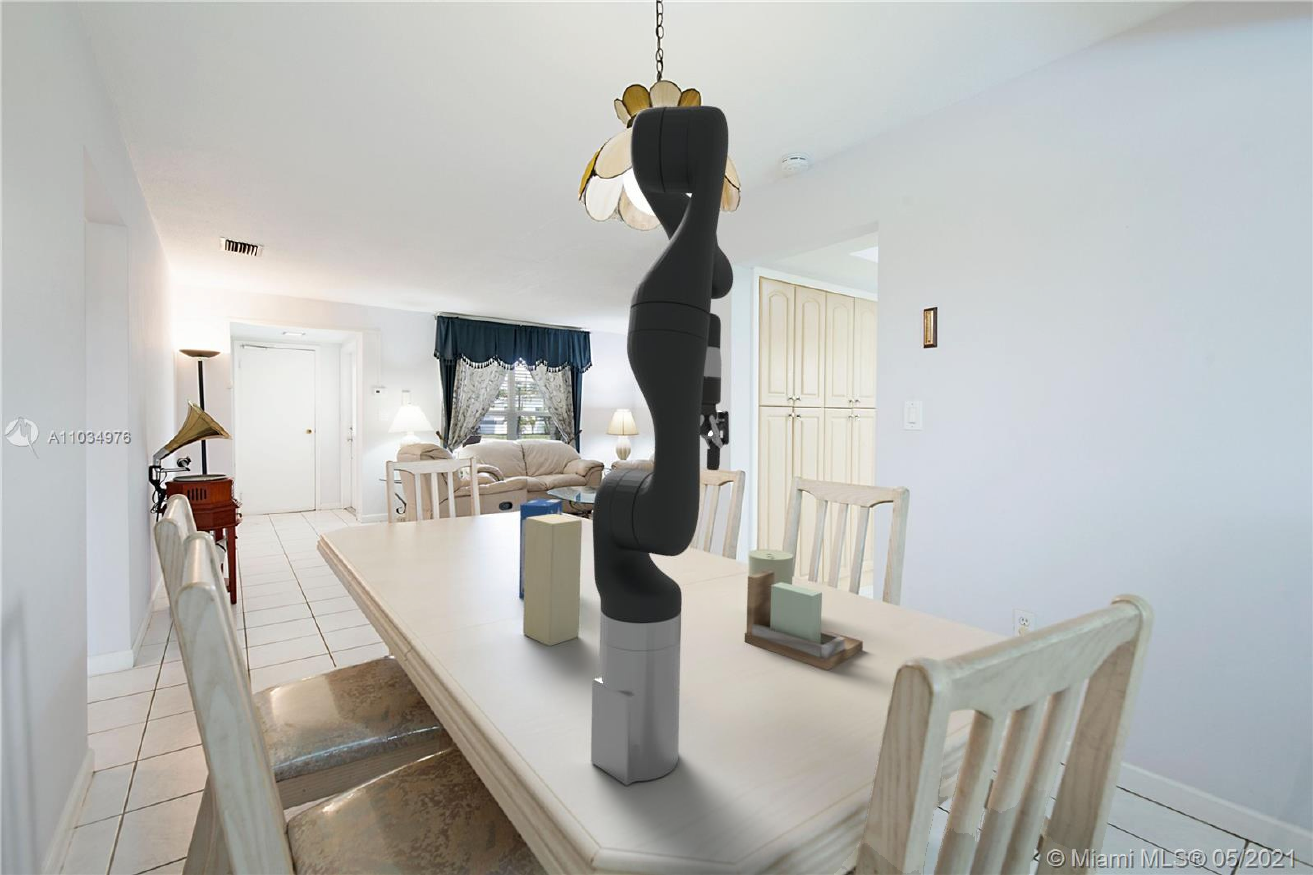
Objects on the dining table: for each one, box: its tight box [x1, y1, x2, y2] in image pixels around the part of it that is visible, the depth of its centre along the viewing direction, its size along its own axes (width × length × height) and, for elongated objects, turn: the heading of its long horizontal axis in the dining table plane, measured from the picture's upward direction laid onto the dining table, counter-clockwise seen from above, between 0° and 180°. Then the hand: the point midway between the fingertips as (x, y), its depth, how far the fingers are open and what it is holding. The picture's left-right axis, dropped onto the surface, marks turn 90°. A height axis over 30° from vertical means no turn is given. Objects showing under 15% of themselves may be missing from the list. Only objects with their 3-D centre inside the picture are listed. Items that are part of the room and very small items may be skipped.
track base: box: [744, 571, 864, 671], centre depth 103 cm, size 12×16×12 cm
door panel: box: [770, 582, 823, 644], centre depth 101 cm, size 3×8×9 cm, turn 45°
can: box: [747, 548, 794, 585], centre depth 122 cm, size 9×9×12 cm
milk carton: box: [518, 498, 563, 599], centre depth 131 cm, size 10×6×20 cm, turn 172°
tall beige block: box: [522, 514, 583, 647], centre depth 105 cm, size 8×7×21 cm
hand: (696, 471), depth 101 cm, fingers open, 8 cm apart
